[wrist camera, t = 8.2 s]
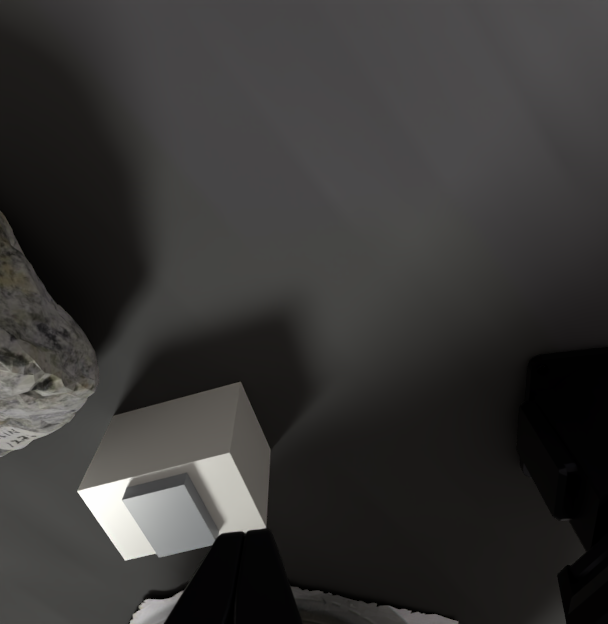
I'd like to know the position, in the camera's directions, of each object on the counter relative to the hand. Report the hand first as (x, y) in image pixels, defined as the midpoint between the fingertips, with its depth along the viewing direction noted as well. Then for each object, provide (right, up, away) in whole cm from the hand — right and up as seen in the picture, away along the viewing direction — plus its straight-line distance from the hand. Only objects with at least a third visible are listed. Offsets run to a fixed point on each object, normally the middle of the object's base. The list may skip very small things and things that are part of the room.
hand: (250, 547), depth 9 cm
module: (-4, -2, +16) cm, 16 cm away
